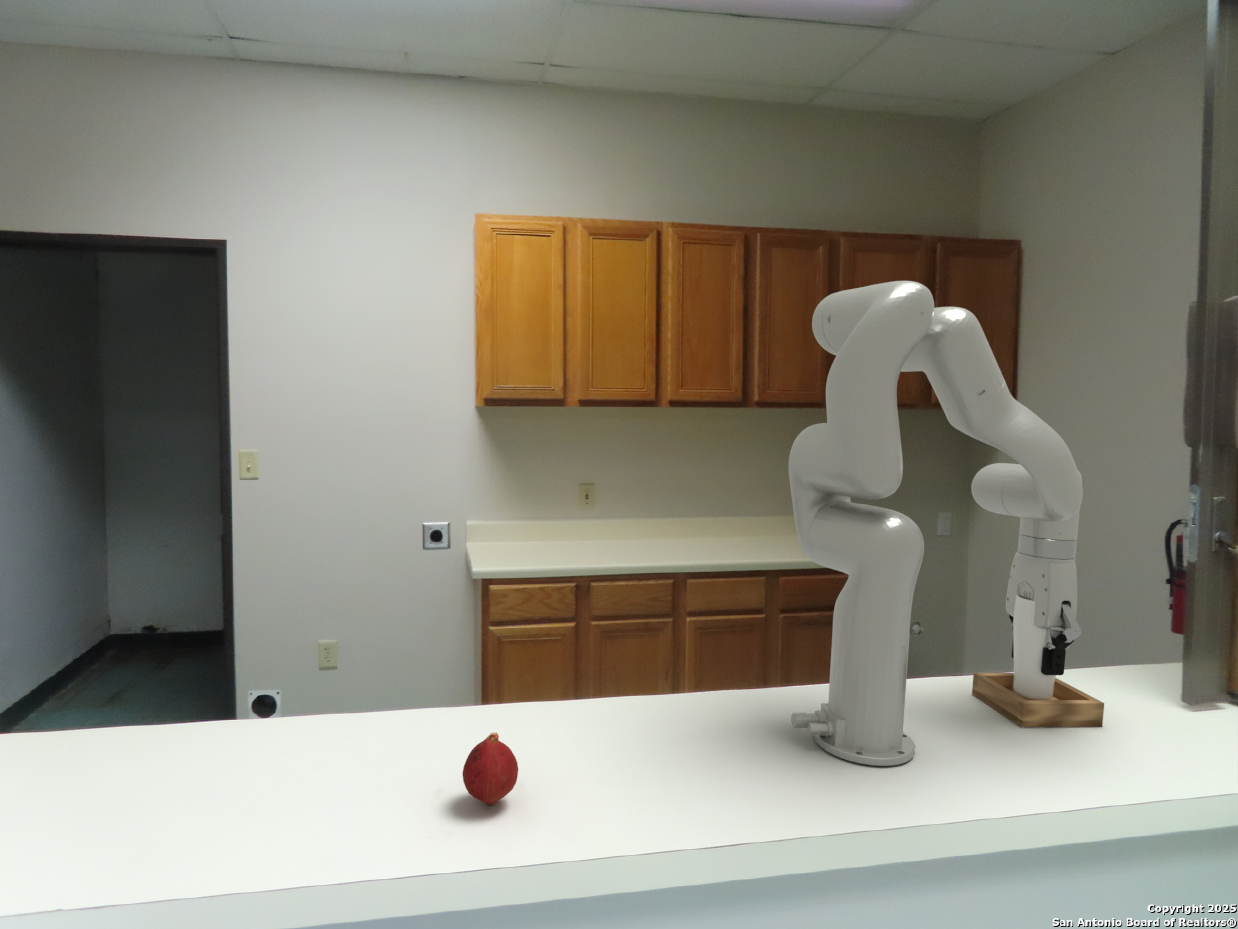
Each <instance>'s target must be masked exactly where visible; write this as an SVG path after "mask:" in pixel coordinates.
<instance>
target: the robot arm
mask: <svg viewBox="0 0 1238 929" xmlns="http://www.w3.org/2000/svg"><path fill="white" fill-rule="evenodd" d="M811 322H812V323H811V328H812V332H813V336H814V338H815V340H816V342H817V343H818V345H819V346H820V347H822V349H823V350H824V351H826V352H828V353H829V354H831V355H834V356H835V358H834V360H833V362H832V364H831V366H830V368H829V371H828V374H827V378H826V385H825V408H826V422H822V423H814V424H812V425H810V426H807V427H805V429H803V430H802V431H801V432H800V433H798V435H797V436H796V438H795V439H794V441H793V444H792V445H791V448H790V452H789V456H788V464H787V465H788V479H789V485H790V494H791V501H792V510H793V516H794V525H795V530H796V531H795V532H796V537H797V540H798V543H799V546H800V548H801V550H802V552H803V553H804V555H805V556H806V557H807V558H808V559H809V560H810V561H811V562H813V563H815V564H817V565H819V566H822V567H824V568H828V569H831V570H835V571H838V572H842V573H843V574H847V575H848V578H847V580H846V582H845V584H844V586H843V588H842V589H841V591H840V593H839V594H838V596H837V598H836V600H835V605H834V609H833V615H832V633H831V634H832V636H831V650H830V652H831V653H830V654H831V655H830V670H829V684H828V685H829V686H828V703H825V702H824V703H823V702H822V703H820V710H818V709H817V710H815V711H814V712H813V713H811V712H792V713H791V718H790V720H791V721H790V722H791V726H792V727H793V729H807V733H808V734H809V735H814V740H815V743H817V745H818V746H820V748H822V749H823V750H824V751H826V752H827V753H829V754H831V755H833V756H835V757H837V758H840V759H843V760H846V761H848V762H852V763H857V764H860V765H865V766H866V765H868V766H878V767H891V766H899V765H902V764H905V763H907V762H909V761H910V760H912V759H913V757H914V755H915V750H916V747H915V742H914V740H913V739H912V738H911V737H910V736H909V735H908V734H907V733H906V732H904V724H905V723H904V719H905V707H906V706H905V705H906V690H907V677H908V676H907V675H908V661H909V649H910V648H909V646H910V645H909V644H910V630H911V629H910V628H911V620H912V619H911V616H912V607H913V598H914V593H915V589H916V588H915V587H916V585H917V580H918V576H919V573H920V569H921V566H922V563H923V559H924V553H925V541H924V536H923V533H922V531H921V529H920V528H919V526H918V524H917V523H915V521H914V520H913V519H911V518H910V517H909V516H907V515H905V514H904V513H901V512H899V511H896V510H894V509H891V508H890V509H889V508H886V507H881V506H877V505H870V504H864V503H857V502H851V501H852V500H851V498H853V499H863V500H880V499H885V498H887V497H889V496H891V495H893V494H895V493H896V491H897V490H898V489H899V487H900V485H901V483H902V480H903V471H904V463H903V462H904V461H903V459H904V458H903V450H902V440H901V431H900V421H899V412H898V395H897V394H898V392H897V390H898V381H899V378H900V374H901V373H902V372H903V373H905V372H906V373H908V372H923V373H924V374H925V375H926V377H927V380H928V382H929V383H930V385H931V387H932V389H933V391H934V393H935V396H936V397H937V399H938V402H939V404H940V406H941V409H942V410H943V412H944V414H945V417H946V419H947V421H948V423H949V424H950V425H951V426H952V427H954V429H956V430H957V431H960V432H961V433H963V434H964V435H967V436H969V437H971V438H973V439H975V440H977V441H980V442H982V443H984V444H986V445H989V446H991V447H994V448H995V449H997V450H999V451H1001V452H1003V453H1005V454H1007V456H1009V457H1010V458H1012V459H1013V460H1015V461H1016V462H1017V463H1007V462H997V463H992V464H988V465H986V466H983V467H982V468H981V469H980V470H978V471H977V472H976V474H975V475H974V477H973V479H972V481H971V486H970V487H971V496H972V497H973V500H974V501H975V502H976V504H977V505H979V506H980V507H981V508H982V509H984V510H986V511H987V512H991V513H994V514H999V515H1005V516H1011V517H1016V518H1017V517H1019V519H1020V520H1019V531H1018V532H1019V533H1018V544H1017V552H1015V554H1014V557H1013V559H1012V563H1011V566H1010V572H1009V577H1008V584H1007V589H1006V590H1007V591H1006V596H1005V597H1006V598H1005V603H1004V604H1005V611H1006V613H1007V614H1008V618H1009V620H1010V622H1011V626H1010V629H1011V632H1012V633H1013V617H1014V606H1015V599H1016V595H1017V594H1018V596H1019V597H1021V598H1024V599H1028V600H1032V601H1034V602H1035V614H1034V625H1035V626H1036V627H1038V628H1040V629H1047V631H1046V638H1045V639H1046V645H1047V647H1043V655H1042V667H1041V673H1042V674H1044V675H1056V676H1063V675H1064V673H1065V664H1066V651H1067V650H1069V649H1070V647H1071V646H1070V645H1072V644H1073V643H1074V642H1075V640H1076V639H1077V638H1078V637H1080V636H1081V635H1082V632H1083V631H1082V628H1081V627H1080V625H1079V623H1078V621H1077V619H1076V618H1077V608H1078V577H1077V576H1078V574H1077V564H1076V556H1077V545H1078V532H1079V523H1080V521H1079V520H1080V509H1081V506H1082V502H1083V497H1084V489H1083V488H1084V487H1083V477H1082V474H1081V472H1080V471H1079V470H1078V467H1077V463H1076V462H1075V459H1074V457H1073V455H1072V452H1071V450H1070V449H1069V446H1068V445H1067V443H1066V442H1065V441H1064V439H1063V438H1062V436H1060V434H1059V433H1058V432H1057V431H1056V430H1055V429H1054V428H1052V427H1051V426H1050V425H1049V424H1048V423H1046V421H1045V420H1043V419H1042V418H1041V417H1039V416H1038V415H1037V414H1036V413H1034V412H1033V411H1032V410H1031V409H1029V408H1028V407H1027V406H1025V405H1024V404H1022V403H1021V402H1019V401H1018V400H1017V399H1015V398H1014V396H1013V395H1012V394H1011V392H1010V390H1009V388H1008V385H1007V383H1006V380H1005V378H1004V375H1003V374H1002V370H1001V368H1000V367H999V363H998V362H997V359H996V357H995V355H994V352H993V350H992V348H991V346H990V344H989V341H988V339H987V337H986V334H985V332H984V330H983V328H982V325H981V323H980V322H979V320H978V318H977V317H976V315H975V314H974V313H973V312H972V311H970V310H968V309H967V308H963V307H959V306H941V307H940V306H939V307H938V306H937V307H935V301H934V297H933V294H932V292H931V290H930V289H929V288H928V287H927V286H925V285H924V284H922V283H920V282H918V281H914V280H913V281H912V280H894V281H888V282H882V283H875V284H871V285H867V286H863V287H862V286H861V287H858V288H857V287H856V288H851V289H845V290H840V291H838V292H834V293H831V294H829V295H827V296H826V297H824V298H823V299H822V300H820V302H819V303H818V304H817V306H816V307H815V309H814V311H813V315H812V321H811ZM1018 463H1019V464H1018ZM1059 617H1061V621H1062V626H1061V627H1054V626H1055V624H1056V622H1057V621H1058V619H1059ZM1053 631H1060V634H1059V635H1058V636H1057V637H1056V638H1054V635H1053ZM1011 658H1012V659H1014V646H1013V643H1012V648H1011Z"/></svg>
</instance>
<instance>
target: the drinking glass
mask: <svg viewBox="0 0 1238 929" xmlns="http://www.w3.org/2000/svg"><path fill="white" fill-rule="evenodd" d="M1034 614H1035V602H1034V601H1032V600H1028V599H1024V598H1021V597H1019V596H1018V594H1017V595H1016V599H1015V606H1014V617H1013V632H1012V644H1013V646H1014V658H1013V673H1014V679H1013V690H1014V692H1015V693H1016V694H1018V695H1020V696H1022V697H1024V698H1027V699H1031V700H1050V699H1051V698H1052V697H1053V691H1054V683H1055V678H1057V677H1056V676H1057V675H1044V674H1042V673H1041V667H1042V655H1043V647H1047V645H1046V639H1045V638H1046V631H1047V629H1040V628H1038V627H1036V626H1035V625H1034ZM1061 626H1062V621H1061V617H1059V619H1058V621H1057V622H1056V624H1055V626H1054V627H1061ZM1059 634H1060V631H1053V635H1054V638H1056V637H1057V636H1058V635H1059Z"/></svg>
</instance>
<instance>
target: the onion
mask: <svg viewBox="0 0 1238 929" xmlns="http://www.w3.org/2000/svg"><path fill="white" fill-rule="evenodd" d="M499 738H500V736H499V734H498V733H497V732H493V731H492V732H491V733H490V734H489V735H488V736H487V737H486V738H485V739H483V741H480V742H479V743H477V744H476V745H475V746H474V747H473V748H472V749H471V751H469V754H468V755H467V757H466V759H465V763H464V765H463V768H462V780H463V781H462V782H463V784H464V787H465V789H466V791H467V792H468V794H469V795H470V796H471V797H473V798H474V799H476V800H477V801H479V802H481V803H483V804H485V805H487V806H495V805H496V804H497V803H498V802H499V801H501V800H502V799H504V798H505V797H506V796H507V795H509V793H511V791H512V790H514V787H515V786H516V784H517V781H518V776H519V765H518V760H517V758H516V756H515V754H514V752H513V750H512V749H511V748H510V747H509V746H508V745H507V744H505V743H504V742H502V741H500V740H499Z"/></svg>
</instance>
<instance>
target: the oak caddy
mask: <svg viewBox="0 0 1238 929" xmlns="http://www.w3.org/2000/svg"><path fill="white" fill-rule="evenodd" d="M1013 679H1014V672H973V676H972V687H971V688H972V690H971V695H972V696H974V697H975V698H977V699H978V700H979V701H981V702H983V703H984V704H986V705H987V706H988V707H990V708H992V710H994V711H996V712H997V713H999V712H1000V713H999V714H1001V715H1002V716H1003V717H1005V718H1006V719H1008V718H1009V719H1008V720H1009V721H1011V720H1012V721H1011V722H1012V723H1014V724H1016V725H1017V724H1018V726H1019V727H1020V726H1021V727H1020V728H1022V727H1024V728H1025V729H1028V728H1027V727H1030V728H1029V729H1031V728H1033V727H1044V728H1102V727H1103V724H1104V714H1105V713H1104V711H1105V703H1104V702H1102V701H1100V700H1099V699H1097V698H1095V697H1093V696H1091V695H1089V694H1087V693H1086V692H1085V691H1082V690H1080V689H1077V688H1076V687H1074V686H1072V685H1070V684H1068V683H1067V682H1065V681H1063V680H1061V679H1059V678H1057V677H1055V683H1054V691H1053V697H1052V698H1051V699H1050V700H1031V699H1027V698H1024V697H1022V696H1020V695H1018V694H1016V693H1015V692H1014V690H1013ZM1024 728H1023V729H1024Z"/></svg>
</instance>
